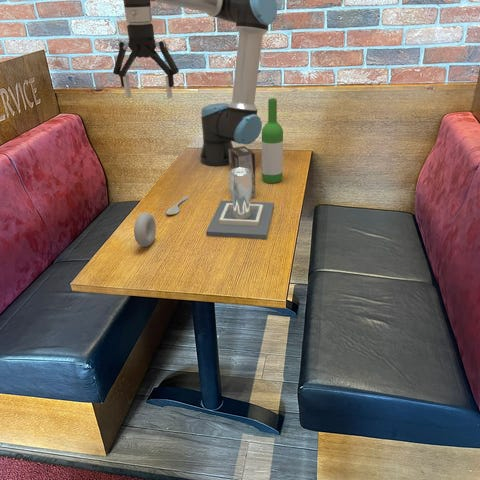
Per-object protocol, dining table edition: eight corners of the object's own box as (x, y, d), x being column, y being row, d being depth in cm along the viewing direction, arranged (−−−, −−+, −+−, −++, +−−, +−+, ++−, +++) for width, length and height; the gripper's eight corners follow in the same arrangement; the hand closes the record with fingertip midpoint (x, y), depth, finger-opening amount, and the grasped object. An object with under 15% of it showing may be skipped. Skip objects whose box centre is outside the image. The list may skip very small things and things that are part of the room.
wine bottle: (279, 185, 167) (280, 102, 152) (259, 182, 169) (258, 101, 154) (284, 177, 173) (286, 97, 158) (265, 175, 175) (265, 96, 160)
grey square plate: (221, 204, 154) (220, 196, 152) (273, 206, 151) (273, 198, 149) (206, 235, 135) (205, 227, 134) (266, 239, 132) (266, 230, 131)
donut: (148, 236, 136) (144, 206, 131) (159, 236, 135) (155, 206, 130) (134, 253, 128) (129, 221, 123) (146, 254, 127) (141, 222, 122)
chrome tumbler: (250, 221, 139) (249, 175, 131) (228, 220, 140) (226, 174, 133) (254, 211, 145) (253, 167, 137) (233, 210, 146) (231, 166, 139)
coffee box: (256, 197, 158) (255, 153, 150) (239, 201, 156) (238, 156, 148) (245, 188, 165) (244, 145, 157) (229, 191, 163) (227, 148, 155)
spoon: (162, 217, 147) (162, 213, 147) (185, 192, 165) (185, 188, 164) (174, 218, 146) (174, 214, 146) (196, 193, 164) (195, 189, 163)
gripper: (94, 25, 131) (107, 100, 141) (177, 23, 127) (184, 100, 137) (105, 22, 137) (116, 94, 148) (184, 21, 133) (190, 95, 144)
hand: (149, 97), depth 143 cm, fingers open, 13 cm apart
